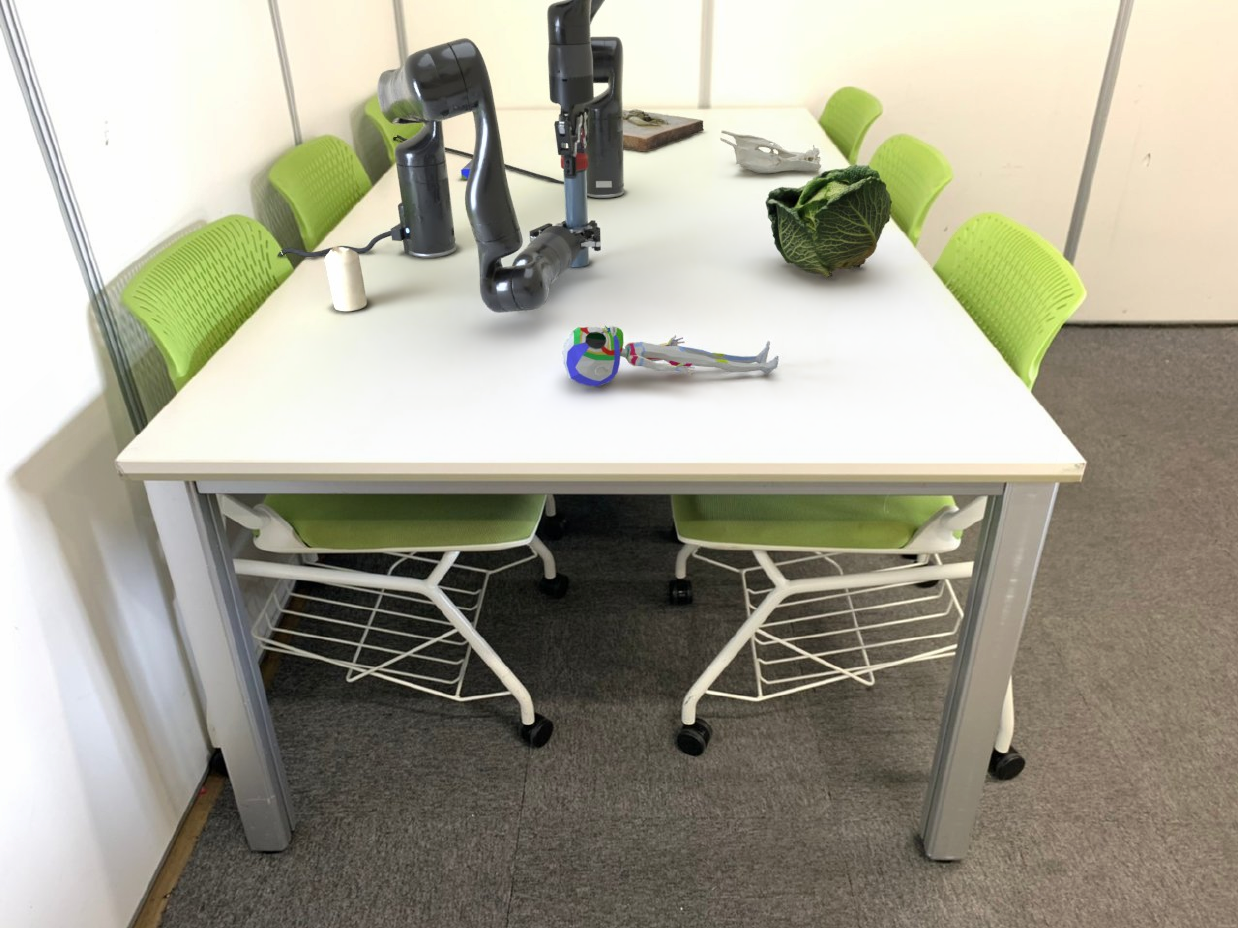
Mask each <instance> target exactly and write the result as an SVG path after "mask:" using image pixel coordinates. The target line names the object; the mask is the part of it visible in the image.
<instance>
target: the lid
mask: <svg viewBox="0 0 1238 928" xmlns="http://www.w3.org/2000/svg"><path fill="white" fill-rule="evenodd" d="M563 157H564V156H561V155H560V168H561V169H562V170H564V164H563ZM576 159H577V170H583V169H586V168H587V167H588V156H587V154H584V153H577V155H576Z"/></svg>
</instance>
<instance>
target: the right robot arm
mask: <svg viewBox="0 0 1238 928" xmlns="http://www.w3.org/2000/svg"><path fill="white" fill-rule="evenodd" d="M605 1H606V0H561V1H556V2H553V3H551V4H550V5H549V6H548V7H547V11H546V21H547V37H548V41H547V42H548V51H547V63H548V64H547V66H548V67H547V68H548V70H547V71H548V84H549V85H548V87H549V89H548V90H549V101H550V102H551V103H553V104H555V105H557V104H558V105H559V106H560V111H559V112H560V113H559V114H558V120H555V121H554V123H553V124H554V130H555V132H554V133H555V140H556V148H557V149H556V150H557V155H558V156H560V157H561V156H564V157H563V164H564V169H563V170H564V172H563V178H564V177H565V178H567V179H575V178H576V177H577V159H576V155H577V153H584V154H587V156H588V167H587V168H586V180H587V197H589V198H595V199H612V198H617V197H620V196H622V195H624V193H625V188H624V186H625V183H624V181H625V180H624V175H625V174H624V173H625V172H624V148H623V110H624V107H623V77H624V76H623V75H624V45H623V42H622V40H621V39H620V37H618V36H591V25H592V23H593V21H594V18H595V16H596V14H598V11H599V10H600V9H601V7H602V5H604V3H605ZM594 84H607V85H608V86H607V88H606V89H605V90H604V91H603V92H602V93H600V94H598V95H596V96H595V94H594V93H595V92H594V91H595V89H594ZM581 129H582V130H581ZM396 135H397V137H394V136H392V139H393V140H392V141H396V140H397V139H399V140H400V141H402V142H404V141H406V140H408V139H409V138H405V137H403V136H401V135H400V134H396ZM444 147H445V152H450V153H453V154H454V153H455V154H457V155H460V156H461V155H462V156H466V157H468V158H471V159H473V155H474V153H473V154H472V153H469V152H465V151H461V150H457V149H454V148H450V147H446V146H444ZM504 166H505V169H509V170H512V171H515V172H518V173H522V174H524V175H528V176H532V177H535V178H538V179H542V180H545V181H548V182H552V183H555V184H562V185H564V180H563V181H562V180H559V179H557V178H553V177H551V176H547V175H544V174H539V173H537V172H532V171H529V170H527V169H522V168H519V167H516V166H513V165H509V164H506V163H504Z"/></svg>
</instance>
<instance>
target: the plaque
mask: <svg viewBox="0 0 1238 928" xmlns="http://www.w3.org/2000/svg"><path fill="white" fill-rule="evenodd" d="M581 130H582V129H581ZM704 130H705V129H704V120H702V119H698V118H693V117H685V116H679V115H669V114H663V113H659V112H650V111H644V110H642V109H637V108H636V109H635V108H634V109H630V110H629V109H623V149H625V150H632V151H640V152H648V151H654V150H656V149H659V148H662V147H663V146H664V147H665V146H667V145H670V144H672V143H676V142H680V141H682V140H684V139H687V138H691V137H692V136H694V135H696V134H698V133H700V132H704Z"/></svg>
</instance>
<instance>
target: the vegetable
mask: <svg viewBox="0 0 1238 928" xmlns="http://www.w3.org/2000/svg"><path fill="white" fill-rule="evenodd" d="M767 196H768V197H767V198H766V200H765V207H766V209H767V219H769V221H770V222H771V223H770V229H771V232H772V237H773V239H774V240H773V244H774V246H775V247H776V250H777V251H778V253H780V255H781V256H782V258H783V259H784V261H785V262H786V264H793V265H794V266H795V267H796V268H799V269H800V270H802V271H804V272H806V273H809V274H813V275H821V276H824V277H825V278H829V276H830V277H833V274H832V273H831V272H834V271H836V270H840V269H848V270H851V268H861V266H862V265H864V264H865V262H866V261H867V259H869V258H870V257H871V256H872V255H873V254H875V252H876V249H877V246H878V242H879V240H880V238H881V235H882V233H883V230H884V228H885V226H886V225H887V224H888V223H889V222H890V220H891V216H890V215H891V214H892V211H891V209H892V204H893V200H892V198H891V194H890V192H889V191H888V189H887V184H886V183H885V180H882V178H881V176H880V173H879V172H878V170H876V169H873V168H871V167H870V165H869V164H868V165H867V164H865V165H863V164H862V165H859V164H852V165H849V166H847V167H846V168H835V169H830V170H825V171H823V172H821V173H820V174H817V175H816V176H814V177H813V178H812V179H811V180H809V181H807V182H806V184H804V185H803V186H800V187H787V186H780V187H778V188H774V189H773V190H770V191H769V192H768V194H767Z"/></svg>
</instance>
